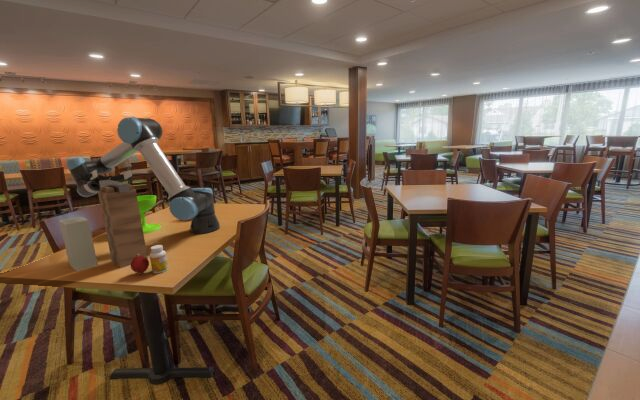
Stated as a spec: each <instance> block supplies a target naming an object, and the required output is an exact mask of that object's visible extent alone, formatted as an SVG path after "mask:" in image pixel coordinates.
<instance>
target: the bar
mask: <svg viewBox="0 0 640 400" xmlns="http://www.w3.org/2000/svg"><path fill="white" fill-rule="evenodd" d="M99 184H100V186H109V187H113V188H114V191H115V192H118V193H123V192H130V188H129V185H130V184H129V183H127V182H124V181H123V182H118V181H113V180H102V181H99Z"/></svg>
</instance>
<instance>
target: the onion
mask: <svg viewBox="0 0 640 400" xmlns="http://www.w3.org/2000/svg"><path fill="white" fill-rule="evenodd" d="M149 266H150V261H149V259H147V258H146V257H144V256H141V255H140V254H137V255H136V257H135V258H134V259H133V260H132V262H131V265H130V269H131V270H132V271H133V272H135V273H137V274H139V275H143V274H145V272H146V271H147V270H148V268H149Z"/></svg>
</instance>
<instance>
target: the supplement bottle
mask: <svg viewBox="0 0 640 400" xmlns="http://www.w3.org/2000/svg"><path fill="white" fill-rule="evenodd" d="M163 249H164V247H163V245H162V244H156V245H153V246H151V247H150V254H149V260H150V266H151V272H152V274H163V273H164V272H166V271H168V269H169V265H168V258H167V253H166V251H165V250H163Z"/></svg>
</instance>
